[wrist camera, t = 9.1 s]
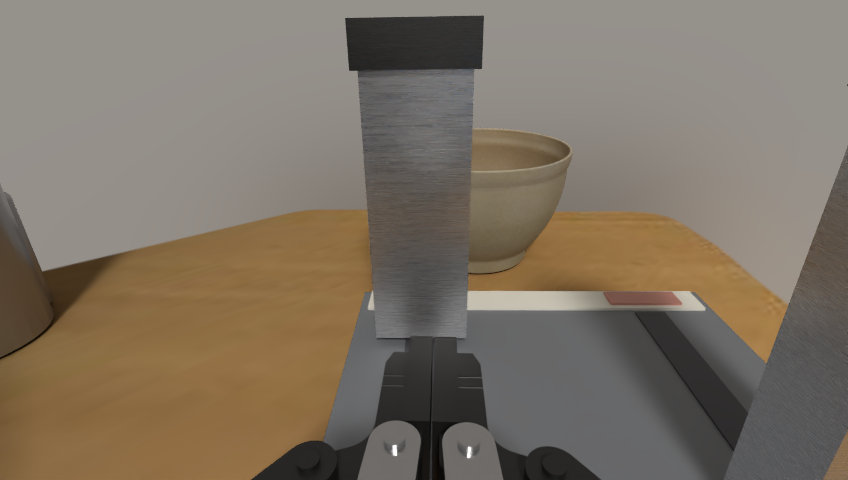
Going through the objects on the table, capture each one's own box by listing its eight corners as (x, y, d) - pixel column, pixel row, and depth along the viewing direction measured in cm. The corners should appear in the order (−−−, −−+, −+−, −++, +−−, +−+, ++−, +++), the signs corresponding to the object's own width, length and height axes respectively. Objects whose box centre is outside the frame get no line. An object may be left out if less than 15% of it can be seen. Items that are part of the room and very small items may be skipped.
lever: (472, 341, 25) (483, 15, 18) (370, 341, 25) (345, 18, 18) (467, 305, 28) (476, 18, 21) (378, 305, 28) (359, 20, 22)
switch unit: (1012, 755, 13) (1099, 681, 12) (280, 733, 14) (257, 659, 12) (681, 341, 32) (695, 287, 30) (369, 340, 32) (364, 287, 31)
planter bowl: (370, 239, 48) (363, 137, 44) (496, 214, 55) (501, 122, 50) (441, 314, 35) (442, 179, 31) (596, 269, 42) (615, 152, 37)
